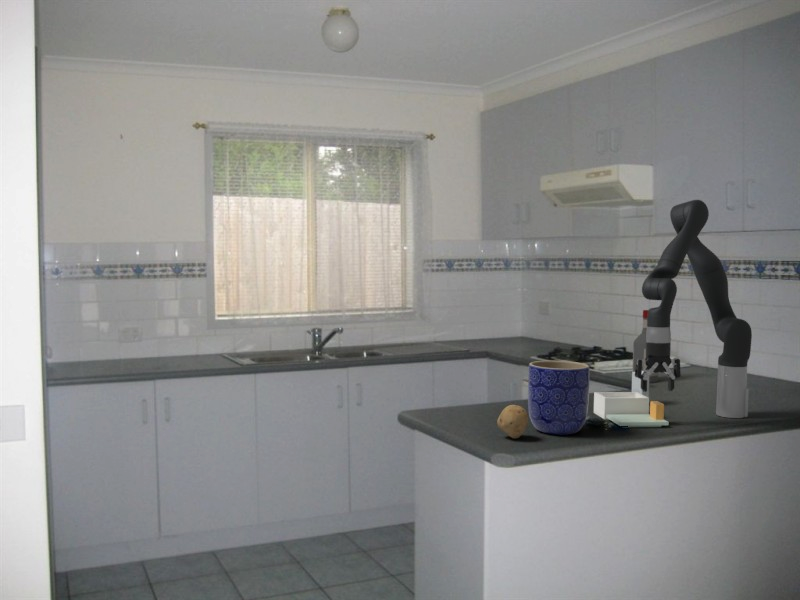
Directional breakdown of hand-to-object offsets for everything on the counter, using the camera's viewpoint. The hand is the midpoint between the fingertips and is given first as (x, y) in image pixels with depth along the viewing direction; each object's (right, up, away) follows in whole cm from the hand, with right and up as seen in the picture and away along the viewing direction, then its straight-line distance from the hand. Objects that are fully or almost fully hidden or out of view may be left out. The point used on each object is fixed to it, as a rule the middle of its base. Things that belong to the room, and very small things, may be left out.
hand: (657, 391), depth 271 cm
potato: (-49, -12, -21) cm, 55 cm away
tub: (-8, -10, +13) cm, 19 cm away
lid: (-6, -11, +1) cm, 13 cm away
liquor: (+21, -5, +86) cm, 89 cm away
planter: (-34, -11, -11) cm, 38 cm away
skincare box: (+4, -9, +34) cm, 35 cm away
